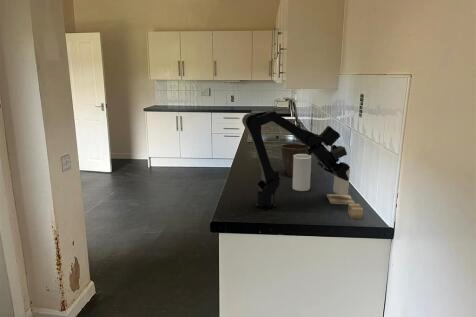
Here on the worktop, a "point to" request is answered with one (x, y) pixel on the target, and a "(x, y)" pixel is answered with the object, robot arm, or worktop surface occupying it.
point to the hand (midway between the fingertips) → (344, 178)
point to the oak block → (355, 211)
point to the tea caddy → (341, 185)
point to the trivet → (340, 199)
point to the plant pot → (291, 155)
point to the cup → (301, 172)
